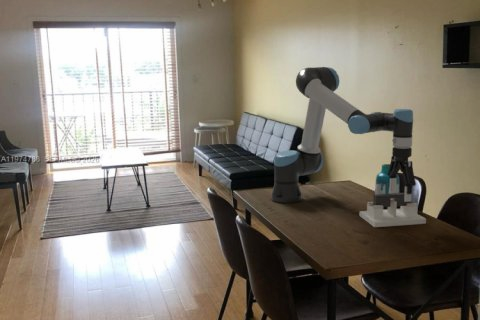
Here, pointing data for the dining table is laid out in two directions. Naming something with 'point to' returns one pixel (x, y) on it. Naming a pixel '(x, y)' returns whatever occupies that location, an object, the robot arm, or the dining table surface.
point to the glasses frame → (389, 199)
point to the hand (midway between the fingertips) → (400, 197)
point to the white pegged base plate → (392, 215)
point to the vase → (384, 181)
